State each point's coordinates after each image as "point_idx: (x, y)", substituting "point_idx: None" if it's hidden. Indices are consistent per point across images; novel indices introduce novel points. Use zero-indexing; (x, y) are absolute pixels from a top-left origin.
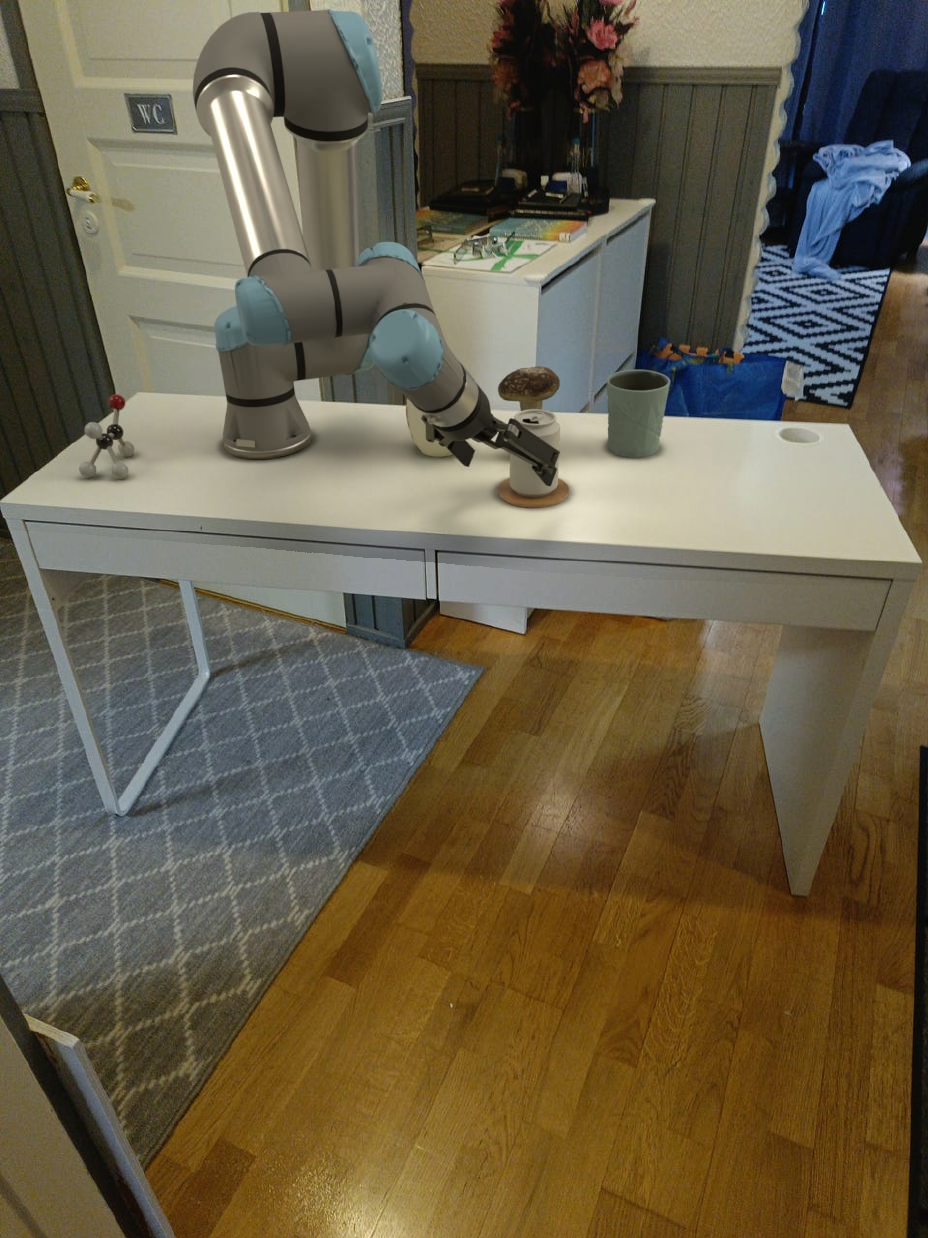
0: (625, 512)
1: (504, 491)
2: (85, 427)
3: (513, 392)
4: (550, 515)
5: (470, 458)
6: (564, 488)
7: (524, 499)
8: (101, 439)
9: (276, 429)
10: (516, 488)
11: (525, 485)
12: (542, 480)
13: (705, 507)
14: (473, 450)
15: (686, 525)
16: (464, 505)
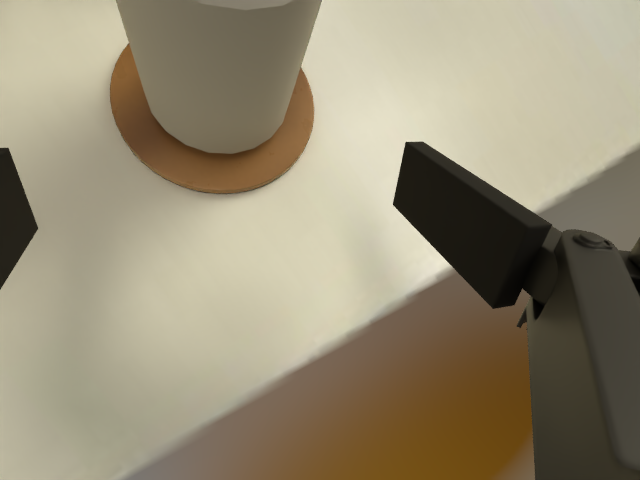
0: (445, 100)
1: (155, 149)
2: None
3: None
4: (331, 192)
5: (20, 202)
6: None
7: (235, 163)
8: None
9: None
10: (203, 146)
11: (238, 140)
12: (417, 227)
13: (532, 20)
14: (4, 161)
15: (548, 96)
16: (83, 275)
